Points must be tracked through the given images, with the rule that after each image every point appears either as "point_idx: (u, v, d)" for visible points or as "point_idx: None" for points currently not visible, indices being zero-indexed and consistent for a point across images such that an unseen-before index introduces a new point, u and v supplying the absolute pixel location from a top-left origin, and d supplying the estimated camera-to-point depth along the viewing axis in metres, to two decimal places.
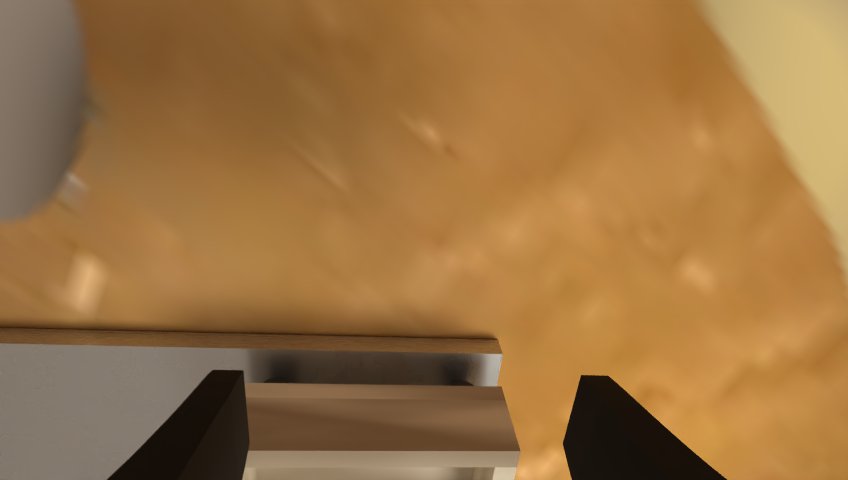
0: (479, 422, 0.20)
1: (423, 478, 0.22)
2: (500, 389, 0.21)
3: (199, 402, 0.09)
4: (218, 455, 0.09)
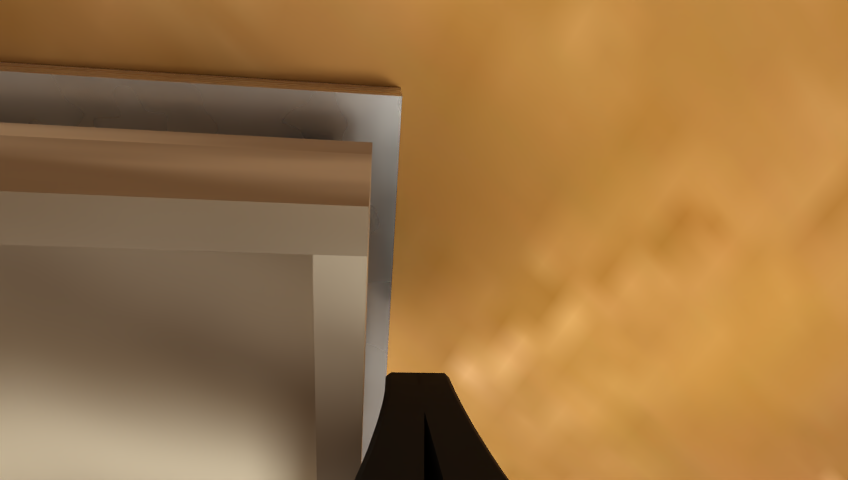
0: (294, 171, 0.09)
1: (230, 344, 0.11)
2: (368, 144, 0.10)
3: (400, 404, 0.10)
4: None
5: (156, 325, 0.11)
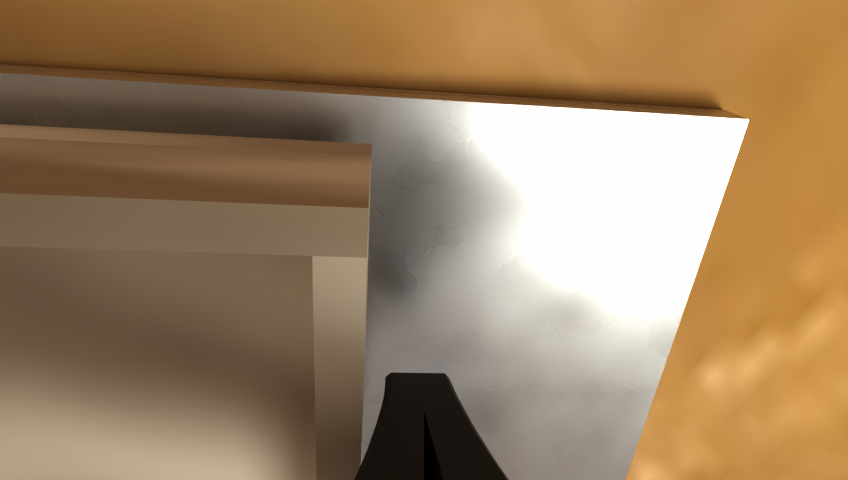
0: (293, 173, 0.09)
1: (230, 345, 0.11)
2: (367, 145, 0.10)
3: (400, 404, 0.10)
4: None
5: (156, 326, 0.11)
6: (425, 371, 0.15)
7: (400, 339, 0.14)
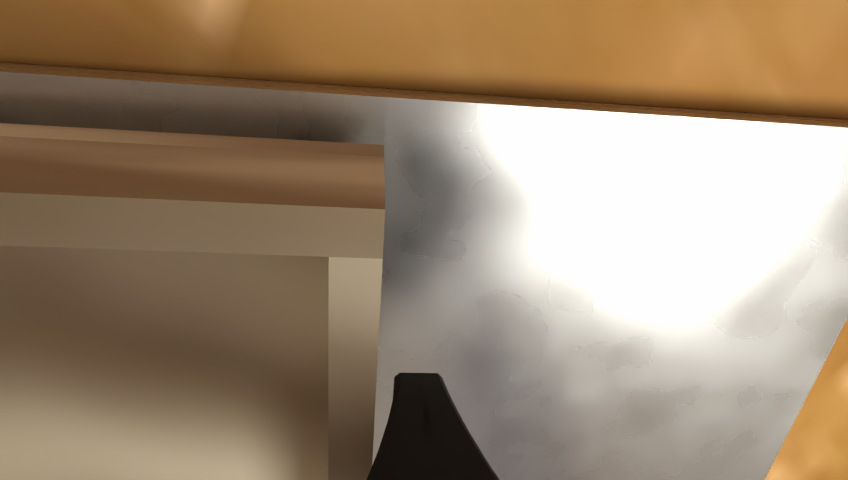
0: (308, 173, 0.09)
1: (240, 345, 0.11)
2: (380, 146, 0.10)
3: (410, 404, 0.10)
4: None
5: (167, 326, 0.11)
6: (595, 374, 0.15)
7: (578, 343, 0.15)
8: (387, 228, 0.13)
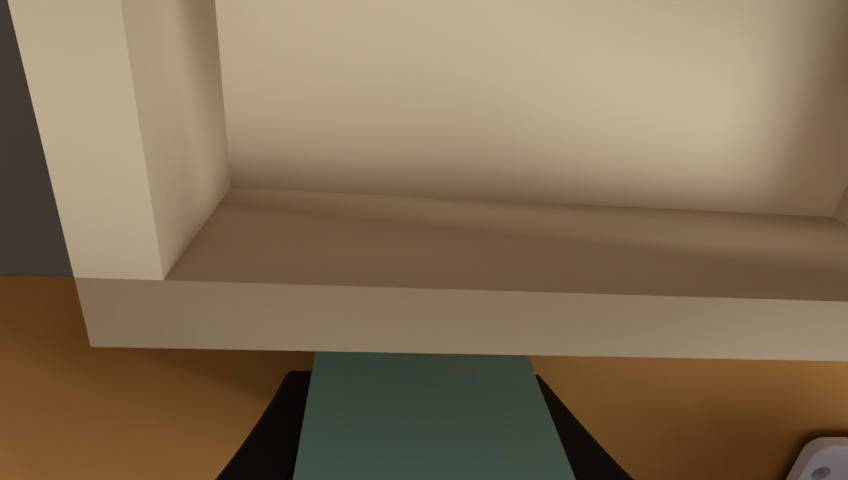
0: None
1: None
2: None
3: (287, 403, 0.09)
4: None
5: None
6: None
7: None
8: None
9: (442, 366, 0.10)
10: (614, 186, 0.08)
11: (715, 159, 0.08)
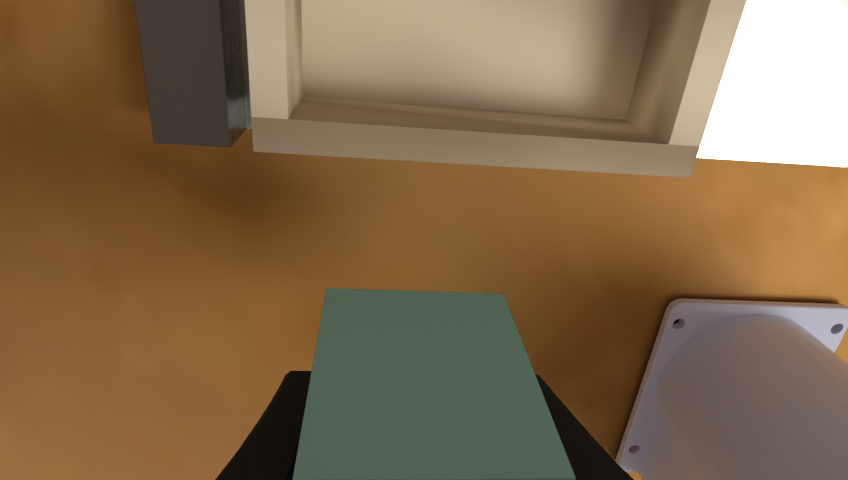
0: None
1: None
2: None
3: (287, 403, 0.09)
4: None
5: None
6: (847, 19, 0.16)
7: None
8: None
9: (440, 361, 0.10)
10: (503, 99, 0.14)
11: (556, 85, 0.14)
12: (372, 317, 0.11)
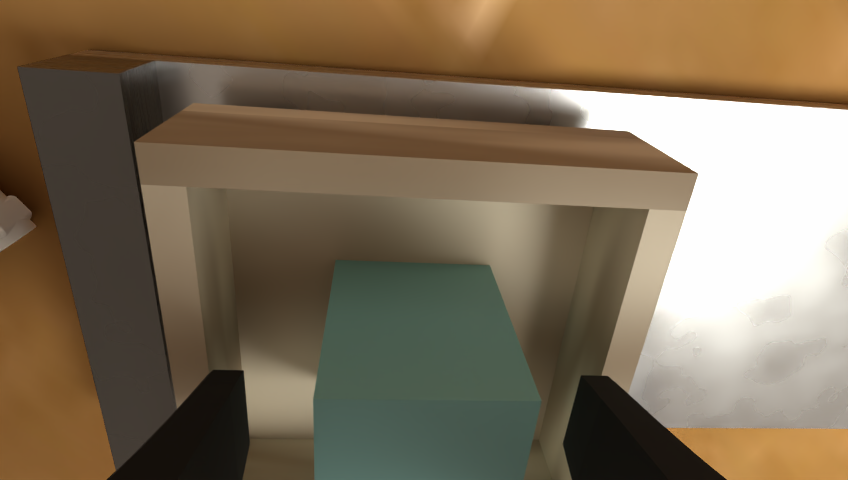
0: (611, 150, 0.11)
1: None
2: (629, 132, 0.13)
3: (199, 402, 0.09)
4: (218, 455, 0.09)
5: None
6: (742, 327, 0.18)
7: (732, 300, 0.17)
8: None
9: (434, 316, 0.12)
10: None
11: None
12: (376, 282, 0.13)
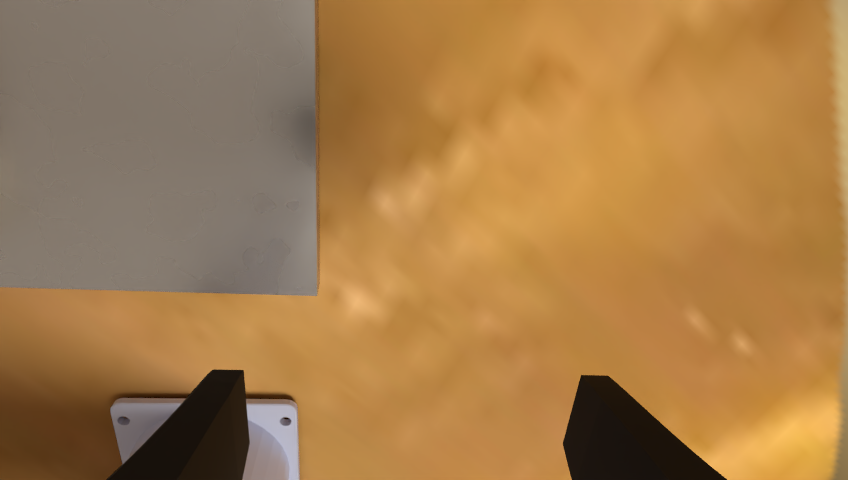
0: None
1: None
2: None
3: (199, 402, 0.09)
4: (218, 455, 0.09)
5: None
6: (112, 175, 0.18)
7: (83, 144, 0.18)
8: None
9: None
10: None
11: None
12: None
